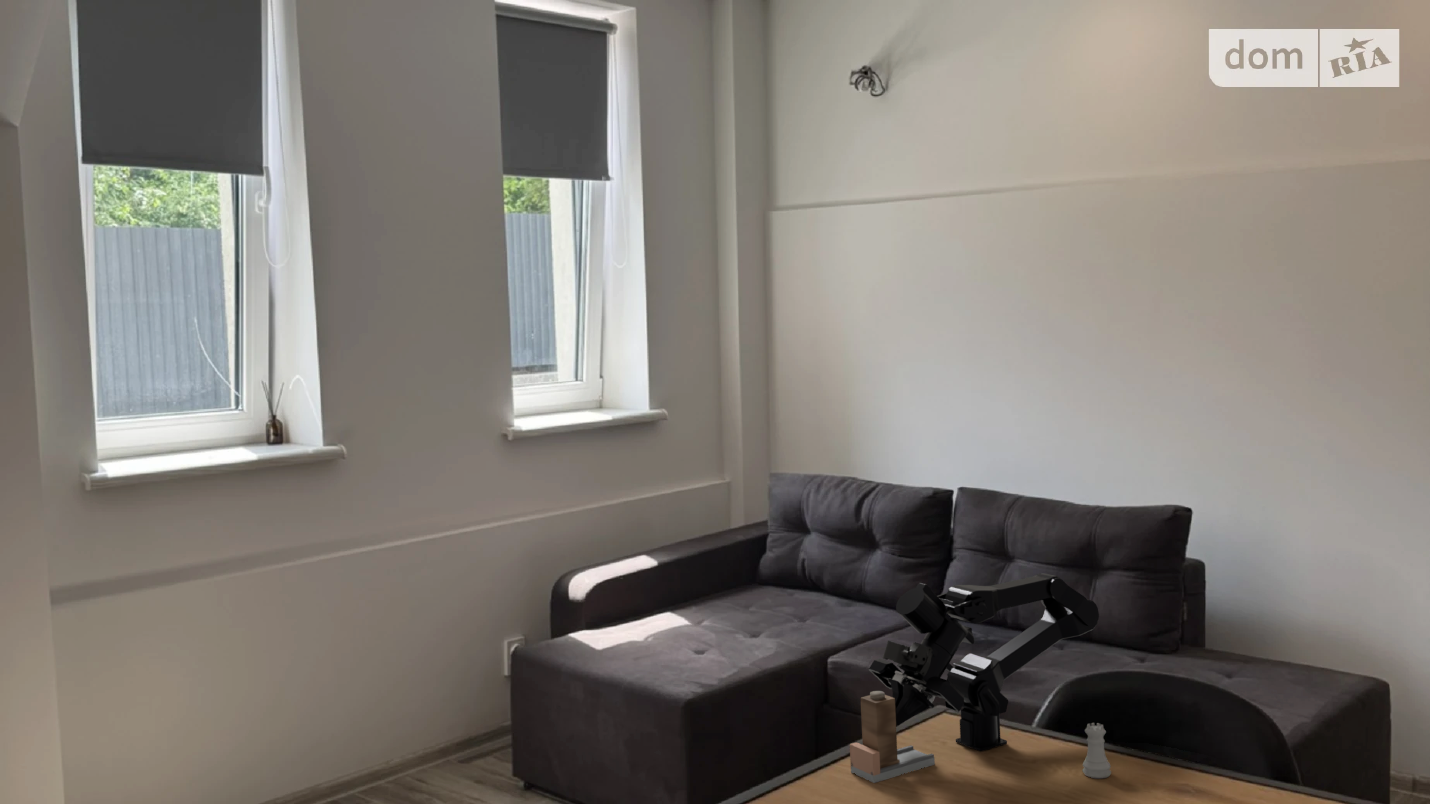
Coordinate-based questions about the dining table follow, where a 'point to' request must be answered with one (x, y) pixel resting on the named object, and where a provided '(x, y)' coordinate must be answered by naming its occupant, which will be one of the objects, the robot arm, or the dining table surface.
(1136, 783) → the dining table surface
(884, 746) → the slider block with knob
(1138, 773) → the dining table surface
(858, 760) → the rail
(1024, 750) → the dining table surface
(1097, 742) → the rook chess piece
